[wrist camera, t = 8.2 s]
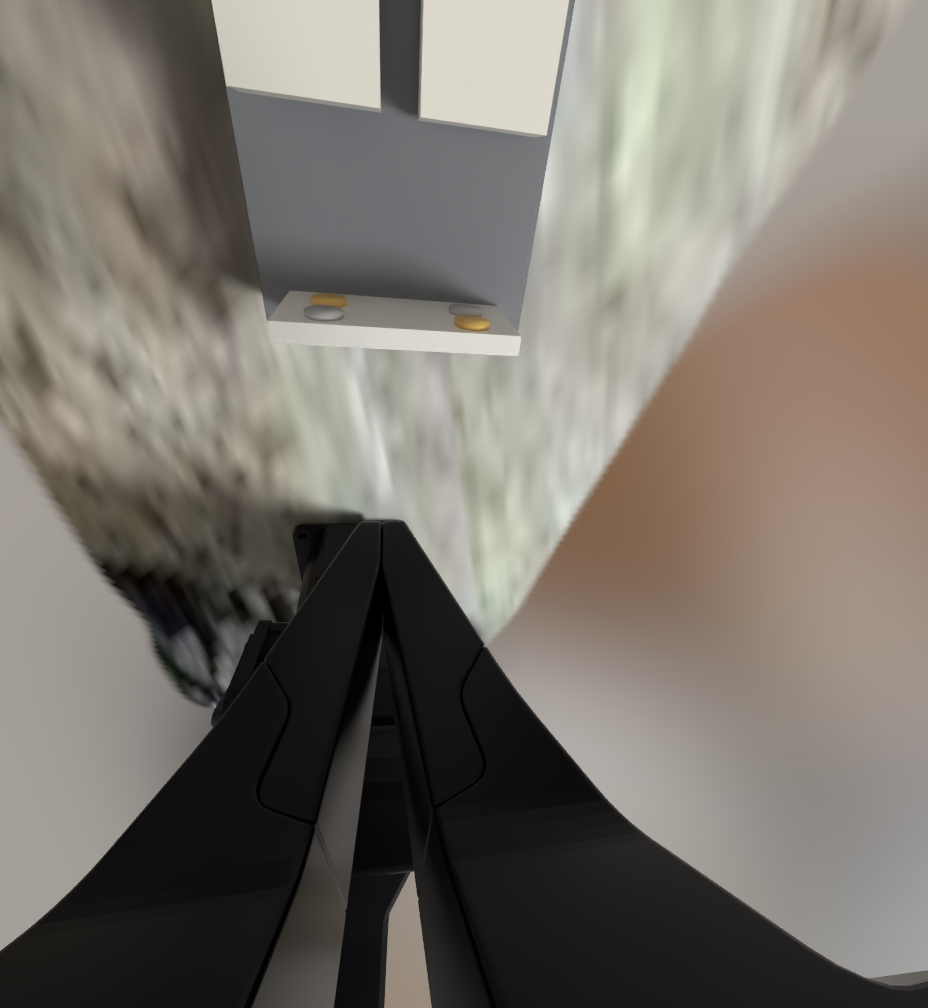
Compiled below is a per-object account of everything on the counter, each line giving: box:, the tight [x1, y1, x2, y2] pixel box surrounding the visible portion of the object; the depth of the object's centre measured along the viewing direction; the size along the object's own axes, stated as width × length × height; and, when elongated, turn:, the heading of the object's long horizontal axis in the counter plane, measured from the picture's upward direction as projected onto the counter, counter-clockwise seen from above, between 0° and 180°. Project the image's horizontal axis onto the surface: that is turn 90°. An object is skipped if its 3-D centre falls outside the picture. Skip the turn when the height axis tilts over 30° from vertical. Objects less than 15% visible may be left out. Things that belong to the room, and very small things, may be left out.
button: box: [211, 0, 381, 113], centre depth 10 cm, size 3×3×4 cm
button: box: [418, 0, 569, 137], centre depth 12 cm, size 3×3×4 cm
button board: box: [211, 0, 575, 356], centre depth 11 cm, size 15×9×6 cm, turn 174°
